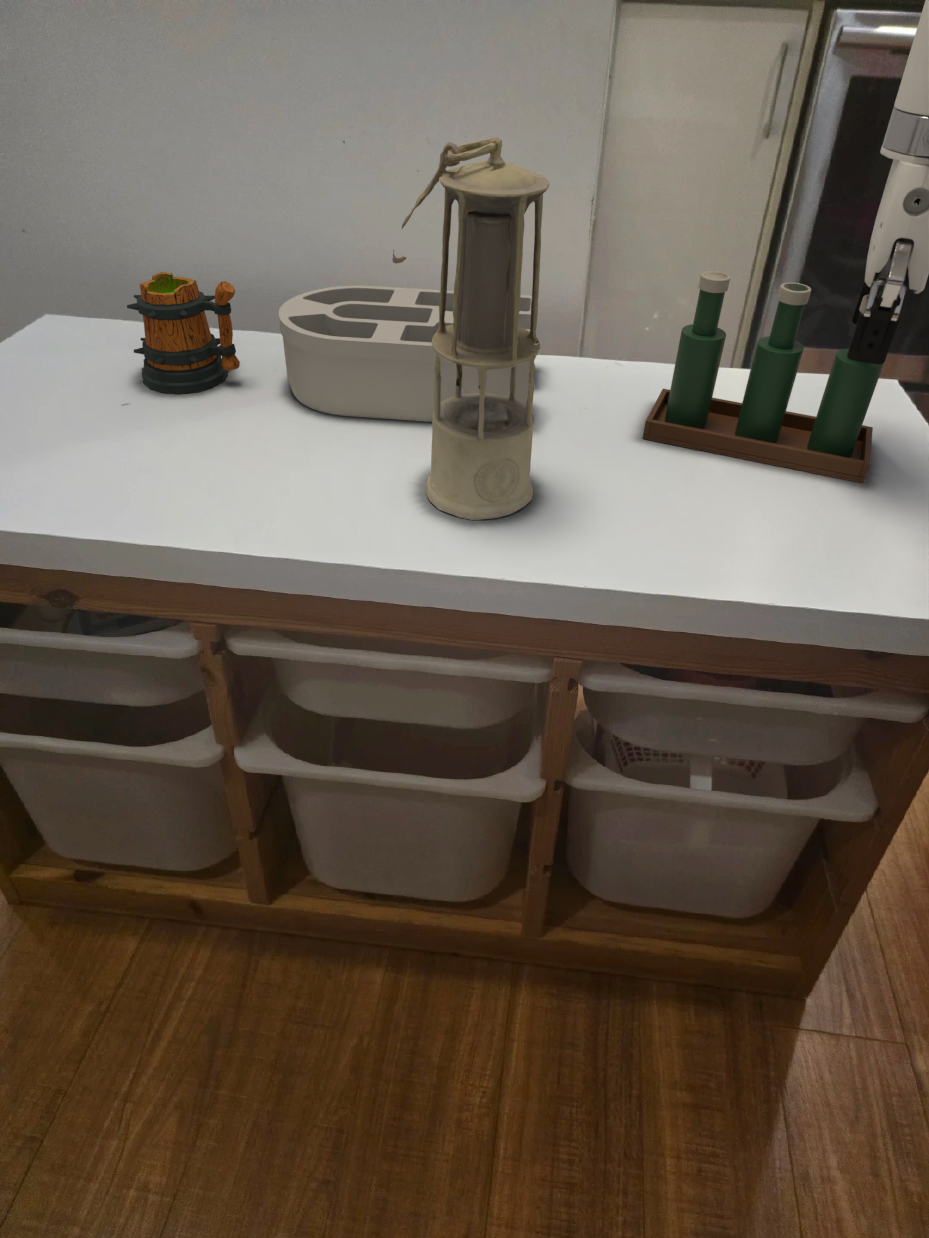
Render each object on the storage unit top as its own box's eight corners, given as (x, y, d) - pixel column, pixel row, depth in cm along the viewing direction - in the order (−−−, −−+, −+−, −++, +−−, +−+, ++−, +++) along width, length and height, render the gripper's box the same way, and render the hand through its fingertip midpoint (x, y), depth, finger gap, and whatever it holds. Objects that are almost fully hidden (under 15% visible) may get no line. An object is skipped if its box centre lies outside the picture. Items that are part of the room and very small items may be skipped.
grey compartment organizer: (527, 431, 91) (533, 352, 86) (269, 413, 93) (259, 335, 87) (533, 368, 104) (539, 296, 98) (306, 353, 106) (300, 281, 100)
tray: (866, 445, 91) (873, 427, 89) (863, 483, 84) (870, 464, 83) (659, 405, 97) (662, 388, 95) (642, 438, 91) (645, 420, 89)
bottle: (840, 440, 90) (890, 291, 80) (858, 460, 87) (913, 307, 77) (800, 441, 90) (846, 291, 80) (817, 461, 86) (867, 308, 77)
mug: (122, 387, 97) (96, 283, 90) (171, 353, 104) (151, 255, 97) (225, 404, 94) (208, 299, 87) (267, 369, 102) (255, 269, 94)
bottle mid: (768, 426, 92) (809, 279, 82) (783, 446, 89) (828, 295, 79) (728, 427, 92) (764, 279, 82) (742, 447, 88) (782, 295, 79)
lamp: (518, 528, 77) (548, 156, 58) (382, 503, 79) (367, 139, 60) (543, 473, 84) (576, 128, 65) (418, 452, 87) (415, 115, 68)
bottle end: (698, 413, 94) (730, 268, 84) (711, 432, 91) (745, 283, 81) (659, 414, 94) (686, 268, 84) (670, 433, 90) (700, 283, 81)
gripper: (992, 163, 63) (909, 384, 74) (978, 124, 75) (908, 318, 86) (883, 152, 65) (818, 369, 76) (887, 116, 77) (830, 307, 88)
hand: (866, 342), depth 81 cm, fingers open, 9 cm apart
